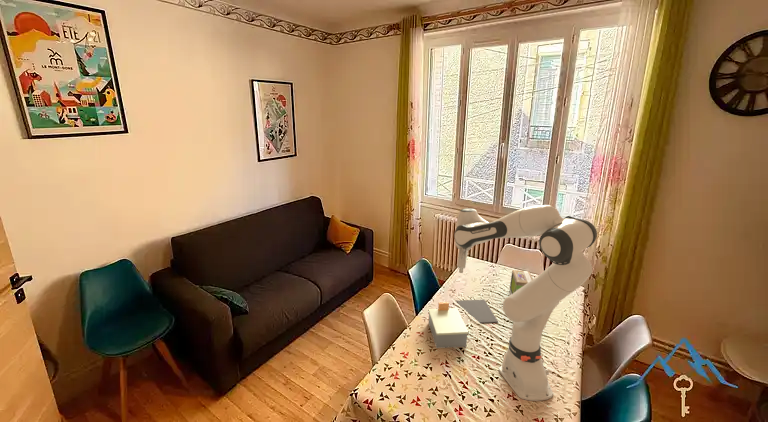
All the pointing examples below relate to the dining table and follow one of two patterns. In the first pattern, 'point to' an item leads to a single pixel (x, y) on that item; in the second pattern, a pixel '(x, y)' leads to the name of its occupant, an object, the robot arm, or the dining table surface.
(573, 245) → the robot arm
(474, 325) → the dining table surface
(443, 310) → the lid
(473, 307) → the mat
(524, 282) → the tea box
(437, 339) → the tub
